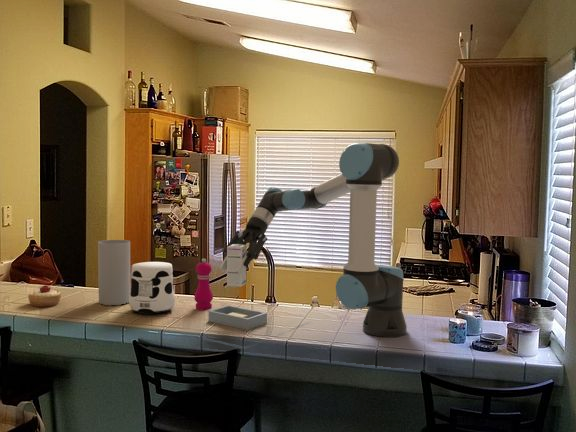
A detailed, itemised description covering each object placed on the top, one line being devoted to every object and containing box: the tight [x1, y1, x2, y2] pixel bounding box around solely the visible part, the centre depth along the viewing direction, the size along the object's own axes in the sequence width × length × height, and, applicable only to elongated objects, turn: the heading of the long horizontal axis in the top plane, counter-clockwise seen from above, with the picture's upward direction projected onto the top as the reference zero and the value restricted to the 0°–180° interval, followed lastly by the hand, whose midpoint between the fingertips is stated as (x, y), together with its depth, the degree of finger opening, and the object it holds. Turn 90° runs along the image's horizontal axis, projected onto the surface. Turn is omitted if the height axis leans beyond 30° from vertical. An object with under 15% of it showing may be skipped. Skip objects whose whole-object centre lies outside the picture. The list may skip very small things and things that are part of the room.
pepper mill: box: [194, 258, 214, 311], centre depth 232 cm, size 7×7×20 cm
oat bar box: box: [229, 312, 248, 318], centre depth 211 cm, size 7×4×2 cm, turn 56°
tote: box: [208, 304, 268, 331], centre depth 211 cm, size 18×11×4 cm, turn 56°
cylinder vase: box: [97, 239, 131, 306], centre depth 239 cm, size 12×12×25 cm
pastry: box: [27, 283, 62, 308], centre depth 235 cm, size 12×12×9 cm
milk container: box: [128, 261, 176, 315], centre depth 227 cm, size 17×17×18 cm
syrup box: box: [226, 244, 248, 288], centre depth 212 cm, size 6×6×14 cm
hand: (230, 271), depth 209 cm, fingers closed on syrup box, 7 cm apart
